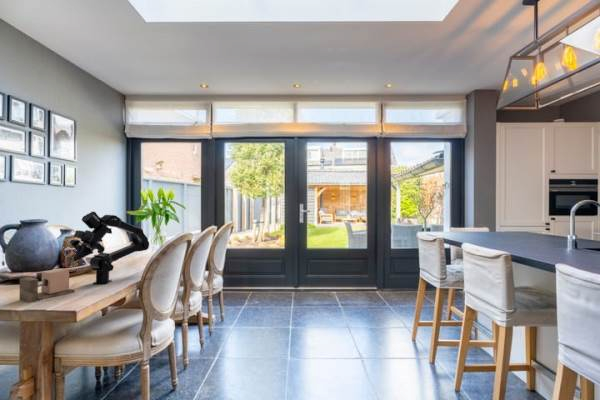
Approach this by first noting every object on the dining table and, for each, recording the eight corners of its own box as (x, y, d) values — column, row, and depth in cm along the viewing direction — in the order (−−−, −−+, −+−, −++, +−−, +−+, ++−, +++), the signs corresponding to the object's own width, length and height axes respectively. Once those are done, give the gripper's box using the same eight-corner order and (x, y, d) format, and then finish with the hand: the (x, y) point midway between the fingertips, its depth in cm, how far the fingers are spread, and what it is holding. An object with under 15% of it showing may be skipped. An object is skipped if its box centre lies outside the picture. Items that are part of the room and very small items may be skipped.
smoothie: (73, 273, 188) (73, 238, 187) (58, 273, 188) (59, 237, 188) (83, 270, 196) (83, 236, 196) (69, 270, 196) (69, 235, 196)
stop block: (61, 289, 156) (62, 270, 156) (74, 292, 153) (74, 272, 153) (18, 299, 140) (18, 278, 140) (30, 302, 137) (31, 280, 137)
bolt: (46, 284, 147) (46, 279, 147) (49, 284, 146) (49, 280, 146) (30, 287, 141) (30, 282, 141) (33, 288, 141) (33, 283, 141)
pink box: (60, 287, 154) (60, 268, 154) (68, 289, 152) (69, 269, 152) (41, 292, 147) (41, 271, 147) (49, 293, 145) (50, 273, 145)
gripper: (73, 223, 165) (48, 248, 155) (99, 225, 158) (75, 251, 148) (88, 237, 173) (66, 262, 163) (114, 240, 165) (92, 266, 155)
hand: (74, 260), depth 157 cm, fingers closed
